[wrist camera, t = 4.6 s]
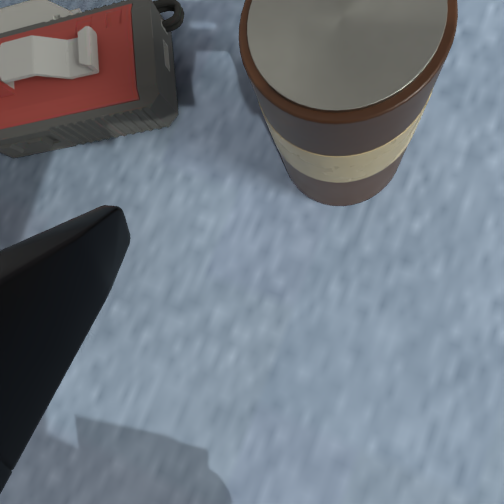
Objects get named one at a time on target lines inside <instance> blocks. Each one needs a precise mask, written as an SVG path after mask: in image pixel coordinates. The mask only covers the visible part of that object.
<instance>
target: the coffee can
mask: <svg viewBox="0 0 504 504" xmlns="http://www.w3.org/2000/svg"><path fill="white" fill-rule="evenodd" d="M457 18H458V9H457V0H245V3H244V7H243V10H242V13H241V19H240V25H239V46H240V53H241V57H242V61H243V65H244V67H245V69H246V72H247V74H248V77H249V79H250V82H251V84H252V86H253V89H254V91H255V94H256V96H257V99H258V102H259V106H260V108H261V111H262V113H263V115H264V118H265V120H266V123H267V125H268V127H269V130H270V132H271V135H272V137H273V139H274V142H275V144H276V146H277V148H278V150H279V152H280V155H281V157H282V159H283V162H284V164H285V167H286V169H287V172H288V174H289V176H290V178H291V180H292V181H293V183H294V184H295V185H296V187H297V188H298V189H299V190H300V191H301V192H302V193H303V194H305V195H306V196H308V197H309V198H311V199H313V200H315V201H317V202H320V203H323V204H327V205H333V206H347V205H354V204H357V203H361V202H363V201H365V200H368V199H370V198H371V197H373V196H375V195H376V194H378V193H379V192H380V191H381V190H382V189H383V188H384V187H386V186H387V184H388V183H389V182H390V181H391V179H392V178H393V176H394V174H395V173H396V171H397V168H398V166H399V164H400V162H401V159H402V157H403V155H404V153H405V150H406V148H407V146H408V144H409V142H410V140H411V139H412V136H413V134H414V132H415V130H416V127H417V125H418V123H419V121H420V119H421V116H422V114H423V112H424V110H425V107H426V105H427V103H428V101H429V98H430V96H431V93H432V90H433V87H434V85H435V83H436V80H437V78H438V76H439V74H440V71H441V69H442V67H443V64H444V62H445V60H446V58H447V55H448V53H449V51H450V48H451V46H452V43H453V40H454V36H455V32H456V27H457Z"/></svg>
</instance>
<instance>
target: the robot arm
mask: <svg viewBox="0 0 504 504" xmlns="http://www.w3.org/2000/svg"><path fill="white" fill-rule="evenodd" d="M129 243H130V233H129V229H128V226H127V223H126V219H125V216H124V213H123V210H122V209H121V208H120V207H118V206H107V205H104V206H101V207H98V208H96V209H94V210H92V211H89V212H87V213H85V214H82V215H80V216H78V217H76V218H73V219H71V220H69V221H67V222H64V223H62V224H60V225H58V226H55V227H53V228H51V229H49V230H46V231H44V232H42V233H40V234H37V235H35V236H33V237H30V238H28V239H26V240H24V241H21V242H19V243H17V244H15V245H12V246H10V247H8V248H6V249H3V250H1V251H0V493H1V492H2V490H3V488H4V486H5V484H6V482H7V481H8V479H9V477H10V475H11V473H12V471H11V470H13V469H14V467H15V465H16V464H17V462H18V460H19V458H20V456H21V454H22V453H23V451H24V449H25V447H26V445H27V443H28V442H29V440H30V438H31V436H32V434H33V433H34V431H35V429H36V427H37V425H38V423H39V422H40V420H41V418H42V416H43V414H44V412H45V411H46V409H47V407H48V405H49V403H50V401H51V400H52V398H53V396H54V394H55V392H56V390H57V389H58V387H59V385H60V383H61V381H62V379H63V378H64V376H65V374H66V372H67V370H68V368H69V367H70V365H71V363H72V361H73V359H74V357H75V356H76V354H77V352H78V350H79V348H80V346H81V345H82V343H83V341H84V339H85V337H86V335H87V334H88V332H89V330H90V328H91V326H92V324H93V323H94V321H95V319H96V317H97V315H98V313H99V312H100V310H101V308H102V306H103V304H104V302H105V300H106V298H107V297H108V294H109V292H110V290H111V288H112V286H113V283H114V281H115V278H116V276H117V273H118V271H119V268H120V266H121V263H122V261H123V259H124V256H125V254H126V251H127V249H128V246H129Z"/></svg>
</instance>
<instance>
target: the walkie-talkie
mask: <svg viewBox="0 0 504 504" xmlns="http://www.w3.org/2000/svg"><path fill="white" fill-rule="evenodd" d="M166 11H174V15H173V16H172V17H170V18H169V19H166V20H164V19H163V18H162V16H161V14H160V13H162V12H166ZM183 19H184V11H183V8H182V7H181V5H180V3H179V2H178V1H176V0H157V1H153V2H152V1H151V0H127V1H124V0H123V1H121V2H119V3H116V4H115V3H112V5H108V6H106V5H105V6H103V7H101V8H94V9H93V10H89V11H88V10H86V11H85V12H82V11H81V10H80V9H79V8H78V9H74V10H71V11H69V10H67V9H65V8H63V7H61V6H59V5H57V4H55V3H52V2H50V1H48V0H29V1H26V2H22V3H19V4H15V5H11V6H8V7H4V8H0V153H3V154H5V155H7V156H10V157H12V158H17V157H22V156H27V155H32V154H37V153H42V152H47V151H52V150H57V149H62V148H67V147H72V146H76V145H77V144H85V143H87V142H90V143H92V142H93V141H101V140H102V139H110V138H112V137H115V138H117V137H119V136H122V135H123V136H126V135H127V134H135V133H137V132H141V133H142V132H144V131H147V130H149V131H152V130H153V129H157V128H158V129H161V128H162V127H169V126H170V125H171V123H172V122H173V121H174V120H175V118H176V117H177V116H178V104H177V92H176V81H175V69H174V58H173V46H172V35H171V31H173V30H175V29H177V28H178V27H180V26H181V24H182V23H183Z"/></svg>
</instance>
